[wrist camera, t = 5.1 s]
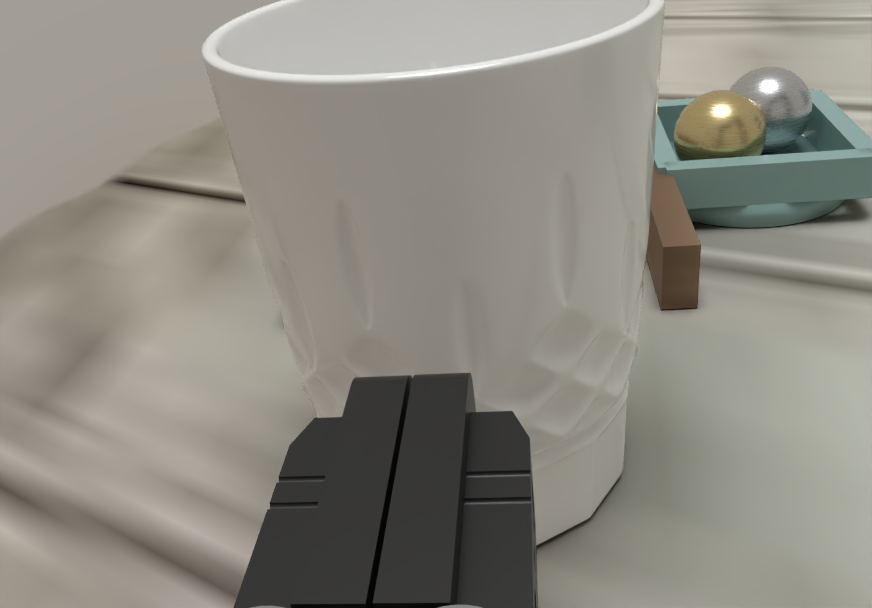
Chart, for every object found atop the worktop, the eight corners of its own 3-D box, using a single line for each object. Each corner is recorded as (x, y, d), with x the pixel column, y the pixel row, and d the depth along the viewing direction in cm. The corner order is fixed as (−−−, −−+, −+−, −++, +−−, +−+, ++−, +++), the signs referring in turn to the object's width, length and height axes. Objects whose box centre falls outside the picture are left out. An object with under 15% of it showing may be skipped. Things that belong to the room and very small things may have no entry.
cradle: (650, 171, 32) (651, 121, 31) (696, 307, 24) (701, 244, 23) (345, 192, 34) (336, 144, 33) (287, 326, 25) (273, 268, 24)
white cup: (660, 599, 16) (683, 58, 10) (261, 571, 17) (111, 92, 12) (644, 355, 22) (654, -50, 17) (358, 352, 24) (288, -19, 19)
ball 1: (748, 158, 30) (757, 76, 29) (772, 191, 28) (783, 103, 26) (664, 163, 31) (668, 82, 29) (679, 196, 28) (685, 109, 27)
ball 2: (803, 137, 32) (793, 56, 31) (828, 146, 29) (817, 57, 28) (721, 155, 32) (709, 77, 31) (738, 166, 29) (725, 80, 29)
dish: (813, 142, 33) (820, 87, 32) (879, 220, 27) (890, 155, 26) (631, 155, 34) (632, 102, 33) (655, 233, 28) (657, 171, 27)
